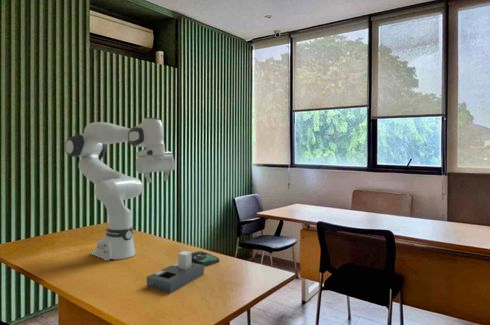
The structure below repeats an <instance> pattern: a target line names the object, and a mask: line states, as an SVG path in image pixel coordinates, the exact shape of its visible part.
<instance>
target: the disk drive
mask: <svg viewBox="0 0 490 325" xmlns="http://www.w3.org/2000/svg"><path fill="white" fill-rule="evenodd" d="M192 263H196V264H200V265H204V268H205V267H208V266H210V265H213V264H216V263H220V258H219V257H218V256H216V255H213V254H210V253H207V252H205V251H202V250H198V251H195V252H192Z"/></svg>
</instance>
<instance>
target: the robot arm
mask: <svg viewBox="0 0 490 325" xmlns="http://www.w3.org/2000/svg"><path fill="white" fill-rule="evenodd" d="M164 133H165V132H164V126H163V123H162V120H161V119H160V118H158V117H157V118H155V117H145V118H143V120H142V122H141V123H140V124H138V125H135V126H133V127H131V128H129V127H125V126H121V125H118V124H114V123H111V122H105V121H104V122H103V121H97V122H91V123H90V122H89V123H87V125H86V126H85V127H84V130H83V133H82V134H80V133H76V134H75V135H73V136H70V137H68V138H67V140H65V142H64V151H65V153H66V154H67V156H69V157H74V158H81V159H80V160H79V161H78V170H80V172H81V174H82V175H84V176H85V178H86V179H88V180H89V181H90V182H92V183H93V184H94V185H95V190H94V194H95V197H96V198H97V200H98V201H100V202H101V203H102V204H103V205H104V207H105V209H106V212H107V222H108V223H107V224H108V227H107V228H106V229H104V231H105V232H106V233H105V235H104V236H103V237H102V238H100V239H99V240H98V241H97V243H96V249H95V250H93V251H91V253H90V254H91V256H94V255H95V257H96V256H97V258H99V257H100V258H99V259H101V258H102V260H103V259H104V260H103V261H110V259H113V260H125V259H129V258H131V257H133V256H135V255H136V248H135V243H134V236H133V233H134V229H133V228H134V227H133V219H132V218H133V214H132V210H131V209H129V208H128V207H126V205H125V202H124V201H125V200H129V199H134V198H136V197H139V196H140V195H141V194H142V192H143V188H144V187H143V183H142V181H141V180H140V179H139V178H137V177H132V176H130V175H127V174H125V173H121V172H120V171H118V170H114V169H112V168H111V167H110V166H108V165H107V164H106V163H104V162H103V161H101V159H103V158H104V155H105V154H106V152H107V149H108V145H111V144H119V143H127V142H129V144H130V145H131V146H132V147H138V148H139V147H140V148H144V149H142V150H139V151H136V153H135V156H136V157H137V158H136V161H135V167H136V168H135V169H136V170H135V171H136V172H137V173H138V174H143V176H144V177H145V178H146V183H147V184H150V183H153V178H151V177H150V173H157V172H164V176H162V180H163V181H164V182H165V181H167V182H168V180H169V175H170V171H175V169H176V164H175V159H174V154H173V153H172V152H171V151H166V148H165V142H164V136H165V135H164Z"/></svg>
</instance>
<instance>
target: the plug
mask: <svg viewBox="0 0 490 325" xmlns="http://www.w3.org/2000/svg"><path fill="white" fill-rule="evenodd" d="M192 253H193V252H191V251H186V250H183V251H180V252H179V253H178V255H177V256H178V257H177V258H178V260H177V263H178V268H180V269H184V270H187V269H189V268H191V266H192Z"/></svg>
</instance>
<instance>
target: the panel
mask: <svg viewBox="0 0 490 325" xmlns="http://www.w3.org/2000/svg"><path fill="white" fill-rule="evenodd" d="M204 269H205V267H204V265H200V264H196V263H192V266H191V268H189V269H187V270H184V269H180V268H178V262H176V263H173V264H172V265H171V264H170V265H169V266H167V267H165V268H163V269H161V270H158V271H156V272H154V273H152V274H150V275H148V276H146V287H147V288H150V289H154V290H157V291H161V292H165V293H168V294H171V293H173V292H175V291H177V290H178V289H180V288H182V287H184V286H186V285H188V284H189V283H191V282H193V281H195V280H197V279H199V277H201V276H203V275H204V274H205V270H204Z"/></svg>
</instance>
